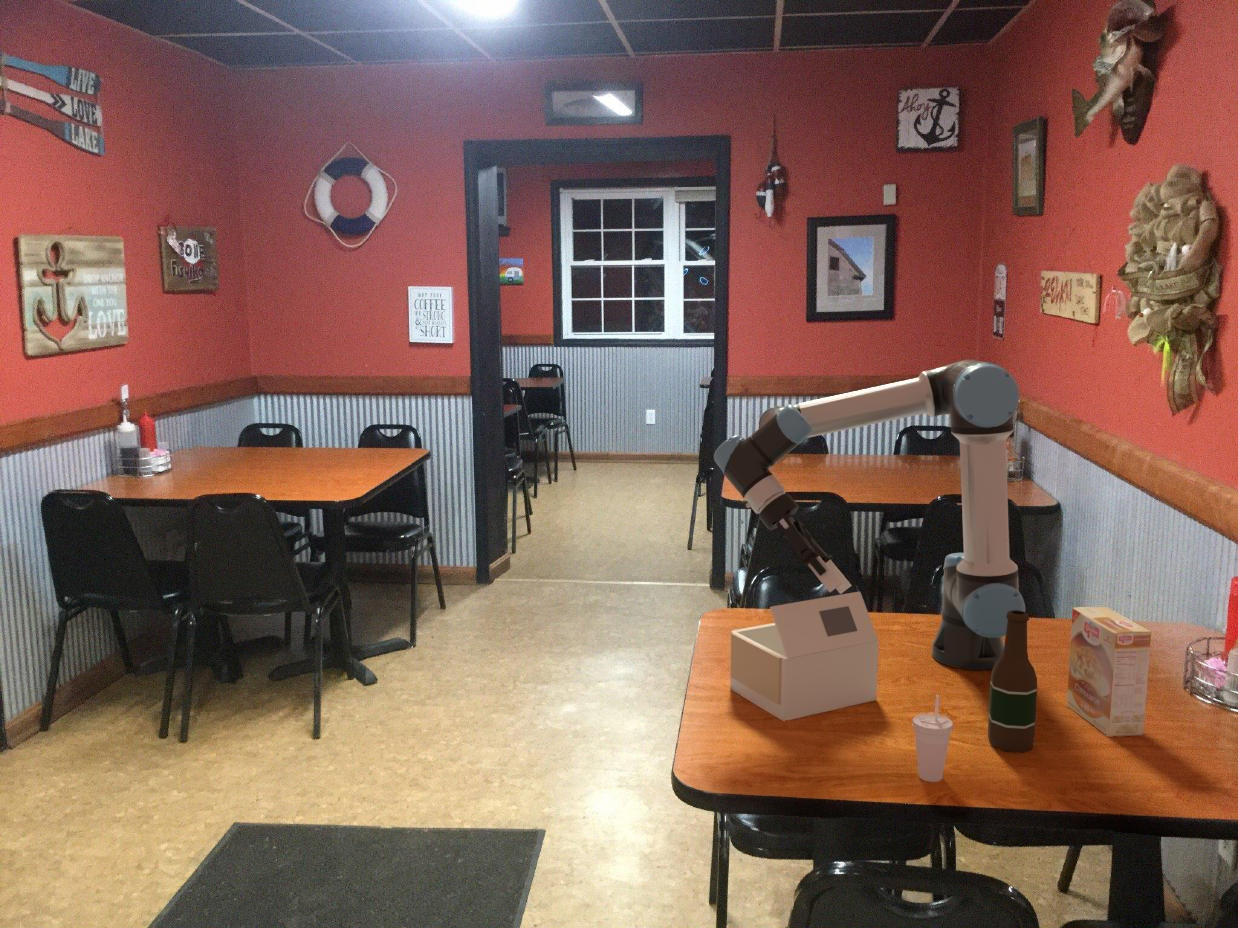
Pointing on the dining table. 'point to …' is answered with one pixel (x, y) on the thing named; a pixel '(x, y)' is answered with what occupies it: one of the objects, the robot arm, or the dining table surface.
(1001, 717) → the beer bottle
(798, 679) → the carton
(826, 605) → the far flap
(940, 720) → the smoothie
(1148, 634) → the coffeecake box
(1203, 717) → the dining table surface
